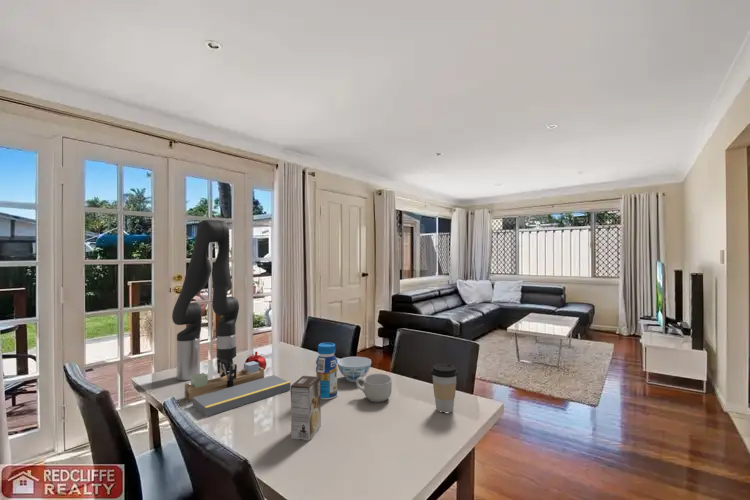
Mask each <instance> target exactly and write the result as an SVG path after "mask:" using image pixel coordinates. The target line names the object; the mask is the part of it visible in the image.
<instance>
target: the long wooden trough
mask: <svg viewBox="0 0 750 500" xmlns="http://www.w3.org/2000/svg"><path fill="white" fill-rule="evenodd" d="M262 378H265V370H264V368H261V367H259V372H255V373H252V374H250V372H248V371H246V370H244V368H242V369H241V370H240V372H236V379H233V386H236V385H240V384H243V383H247V382H251V381H254V380H258V379H262ZM225 388H227V376H223V377H220V376H219V377H216V378H211V379H208V385H205V386H202V387H198V388H194V387H193V386H191V384H190V383H188V382H186V383H184V399H188V402H190V403H193V397H196V396H200V395H204V394H207V393H211V392H214V391H218V390H222V389H225Z"/></svg>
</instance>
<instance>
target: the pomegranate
mask: <svg viewBox="0 0 750 500" xmlns="http://www.w3.org/2000/svg"><path fill="white" fill-rule="evenodd" d="M262 355H265V353H261V354H258V351H254V353H253V354H249V356H247V358H246V360H245V361H244V363H248V362H252V361H255V362H257V363H259V367H261V368H264V371H265V370H266V368H267V360H266V359H265V357H264V356H262Z"/></svg>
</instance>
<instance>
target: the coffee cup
mask: <svg viewBox="0 0 750 500" xmlns="http://www.w3.org/2000/svg"><path fill="white" fill-rule="evenodd" d="M430 374H431V375H432V385H433V387H432V389H433V396H434V402H435V409H437V410H438V411H441V412H451V411H454V409H455V408H454V406H455V398H456V389H457V376H458V374H459V373H458V370H457V368H456V366H454V365H452V364H449V363H447V364H446V363H439V364H434V365H433V366H432V368H431V369H430ZM437 410H436V411H437ZM438 411H437V412H438ZM451 413H452V412H451Z"/></svg>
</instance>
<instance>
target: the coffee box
mask: <svg viewBox="0 0 750 500" xmlns="http://www.w3.org/2000/svg"><path fill="white" fill-rule="evenodd" d="M321 400H322V399H321V388H320V377H316V376H309V375H302V376H301V377H300V378H298V379H297V380H296V381H295V382H294V383H292V384H290V438H291V440H299V439H304V440H303V441H309V440H310V439H311V438H312V439H313V438H314V436H315V435H316V434H317V432H318V431H319V429H320V428H321V426H322V416H321V414H322V411H321V409H322V408H321V405H322V404H321V403H322V401H321ZM317 430H318V431H317ZM314 434H315V435H314ZM312 439H311V440H312ZM311 440H310V441H311Z"/></svg>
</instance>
